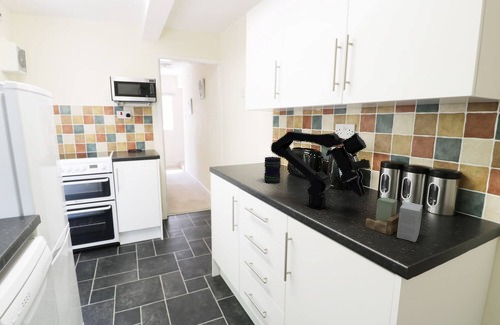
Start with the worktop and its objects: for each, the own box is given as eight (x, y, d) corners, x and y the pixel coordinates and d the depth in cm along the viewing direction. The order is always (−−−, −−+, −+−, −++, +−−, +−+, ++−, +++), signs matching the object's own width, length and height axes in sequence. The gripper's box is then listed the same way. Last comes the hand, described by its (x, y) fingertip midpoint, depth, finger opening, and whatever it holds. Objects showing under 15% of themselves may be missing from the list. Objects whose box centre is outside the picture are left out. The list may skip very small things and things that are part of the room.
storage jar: (260, 181, 159) (261, 157, 157) (271, 179, 166) (272, 156, 163) (272, 184, 152) (273, 159, 150) (283, 182, 159) (284, 158, 156)
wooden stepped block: (365, 227, 94) (366, 214, 93) (380, 218, 102) (381, 206, 101) (390, 235, 87) (391, 221, 86) (403, 225, 95) (405, 212, 95)
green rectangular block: (374, 225, 95) (377, 199, 93) (380, 222, 98) (382, 197, 96) (389, 230, 91) (392, 202, 90) (394, 227, 94) (397, 200, 93)
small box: (400, 229, 92) (403, 201, 90) (419, 234, 88) (423, 204, 87) (396, 237, 86) (399, 207, 84) (415, 242, 82) (419, 211, 81)
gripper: (359, 148, 94) (382, 187, 90) (364, 152, 110) (384, 185, 106) (331, 163, 98) (352, 201, 94) (340, 164, 115) (358, 197, 111)
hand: (362, 195), depth 101 cm, fingers open, 9 cm apart
